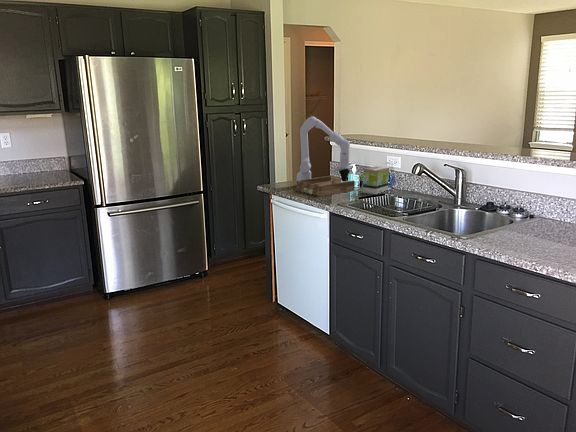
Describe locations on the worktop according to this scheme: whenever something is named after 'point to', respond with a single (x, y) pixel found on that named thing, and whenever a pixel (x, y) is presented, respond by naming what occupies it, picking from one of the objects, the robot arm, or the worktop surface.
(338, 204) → the worktop surface
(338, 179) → the maple cube
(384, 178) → the tea box
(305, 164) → the robot arm
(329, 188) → the trap board
